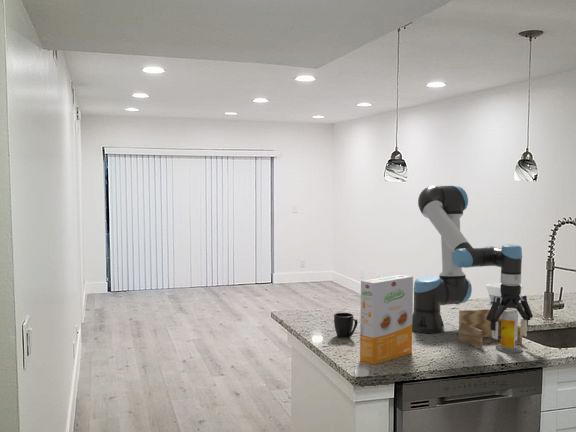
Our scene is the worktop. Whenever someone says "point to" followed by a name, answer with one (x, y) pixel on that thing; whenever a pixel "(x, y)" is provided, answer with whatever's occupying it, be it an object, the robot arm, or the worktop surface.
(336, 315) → the mug
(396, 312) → the cereal box
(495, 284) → the bowl
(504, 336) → the beer can
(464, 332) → the shelf bay
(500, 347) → the coaster
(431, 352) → the worktop surface
